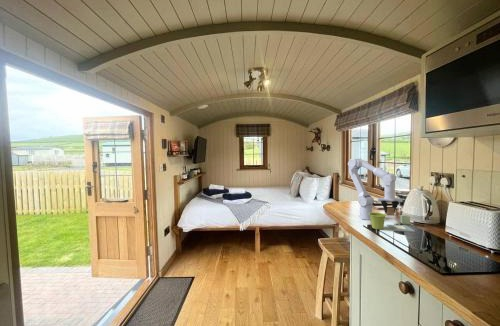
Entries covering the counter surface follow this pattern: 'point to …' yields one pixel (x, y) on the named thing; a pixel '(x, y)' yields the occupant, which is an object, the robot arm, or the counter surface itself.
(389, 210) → the walnut block
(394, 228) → the board
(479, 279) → the counter surface
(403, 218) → the sage block
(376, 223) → the plant pot
